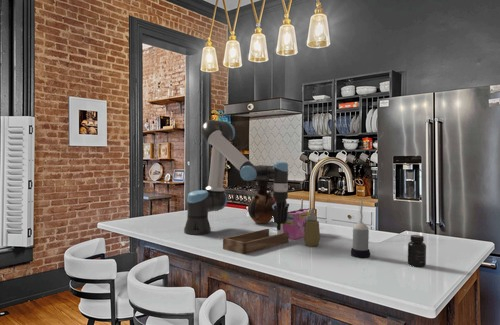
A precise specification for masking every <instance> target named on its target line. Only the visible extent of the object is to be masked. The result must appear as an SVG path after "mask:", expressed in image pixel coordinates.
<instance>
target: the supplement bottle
mask: <svg viewBox="0 0 500 325" xmlns="http://www.w3.org/2000/svg"><path fill="white" fill-rule="evenodd" d="M424 241H425V238H424V235H420V234H410V241H409V242H408V243H407V265H409V266H410V265H411V266H410V267H413V266H414V268H424V267H426V264H427V245H426V243H424Z"/></svg>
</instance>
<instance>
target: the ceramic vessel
mask: <svg viewBox="0 0 500 325" xmlns="http://www.w3.org/2000/svg"><path fill="white" fill-rule="evenodd" d="M269 181H270V179H262V180H256V184H257V191H256V192H257V193H256V194H255V195H254V196H253V197H252V198H251V199H250V200H249V202H248V205H247V212H248V215H249V217H250V218H251V219H252V221H253V222H254V223H256V224H267V223H269V222H271V221H272V219H274V218H273V217H272V216H273V211H272V208H271V205H274V202H275V199H274V198H273V197H272V194H271V191H268V184H269Z"/></svg>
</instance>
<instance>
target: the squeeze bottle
mask: <svg viewBox="0 0 500 325" xmlns="http://www.w3.org/2000/svg"><path fill="white" fill-rule="evenodd" d="M310 210H311V213H310V216H308V220H307V221H306V224H305V232H304V237H303V240H304V242H305V246H308V247H318V246H319V243H320V241H321V232H320V221H319V220H318V216H317V215H316V216H315V213H314V210H315V209H314V208H311V209H310Z"/></svg>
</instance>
